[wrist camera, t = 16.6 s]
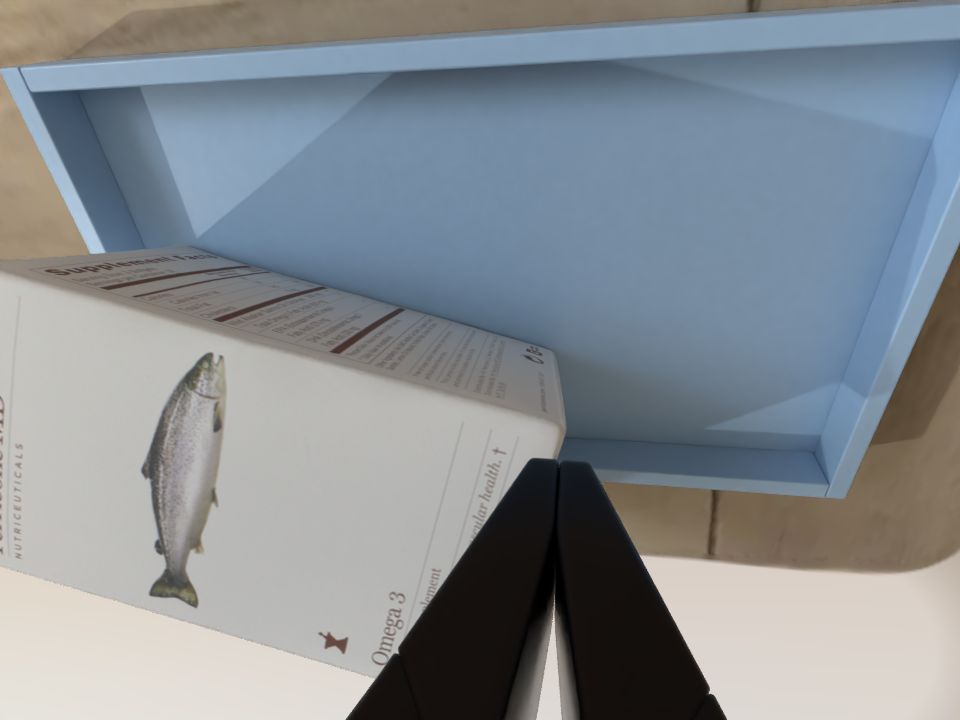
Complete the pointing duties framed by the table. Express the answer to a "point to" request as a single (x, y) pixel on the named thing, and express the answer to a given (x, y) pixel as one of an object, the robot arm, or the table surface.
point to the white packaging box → (254, 445)
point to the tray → (575, 207)
